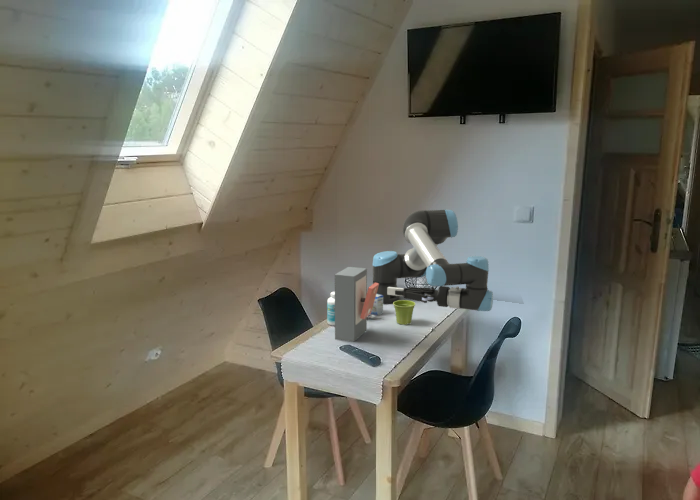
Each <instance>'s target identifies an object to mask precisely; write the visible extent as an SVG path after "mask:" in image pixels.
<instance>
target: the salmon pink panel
mask: <svg viewBox="0 0 700 500" xmlns="http://www.w3.org/2000/svg"><path fill="white" fill-rule="evenodd" d="M378 286H379V284H378V283H376V282H375V283H374V284H373V283H372V284H371V285H369V287H367V295H366V298H365V302H364V306H363V309H362V313H361V317H360V318H362V319H365V318H366V317H367V316H370V315H372V314H371V311H372V308H373V304H374V301H375V297H376V293H377V290H378ZM367 318H368V317H367Z"/></svg>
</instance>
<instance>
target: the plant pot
mask: <svg viewBox="0 0 700 500" xmlns="http://www.w3.org/2000/svg"><path fill="white" fill-rule="evenodd" d="M392 305H393V308H394V312H395V319H396V323H397V324H398V325H402V326H403V325H404V326H407V325H410V324H412V318H413V312H414V308H415V307H416V302H415V301H414V300H410V299H405V300H404V299H400V300H398V301H395V302H393V303H392Z"/></svg>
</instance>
